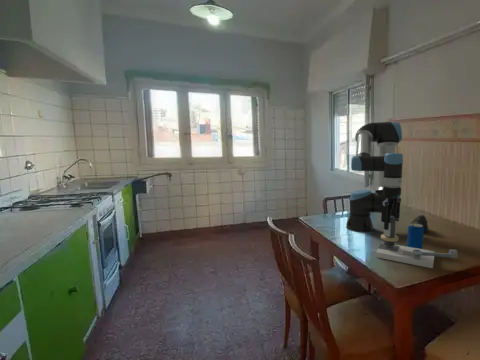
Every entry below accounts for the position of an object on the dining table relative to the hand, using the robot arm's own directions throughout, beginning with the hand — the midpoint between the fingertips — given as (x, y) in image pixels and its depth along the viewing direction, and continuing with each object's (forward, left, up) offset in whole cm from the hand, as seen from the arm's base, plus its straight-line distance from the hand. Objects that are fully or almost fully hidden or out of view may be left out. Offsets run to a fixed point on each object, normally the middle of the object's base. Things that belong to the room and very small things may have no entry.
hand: (389, 234), depth 138 cm
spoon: (+18, -6, -4) cm, 20 cm away
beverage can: (+10, +12, -9) cm, 18 cm away
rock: (+8, +46, -9) cm, 47 cm away
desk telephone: (+7, -2, -9) cm, 11 cm away
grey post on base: (0, 0, -5) cm, 5 cm away
